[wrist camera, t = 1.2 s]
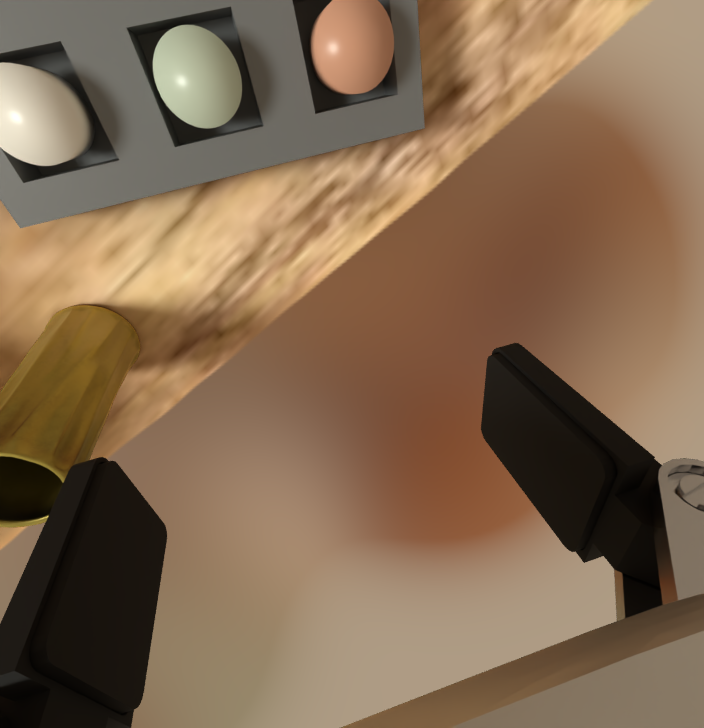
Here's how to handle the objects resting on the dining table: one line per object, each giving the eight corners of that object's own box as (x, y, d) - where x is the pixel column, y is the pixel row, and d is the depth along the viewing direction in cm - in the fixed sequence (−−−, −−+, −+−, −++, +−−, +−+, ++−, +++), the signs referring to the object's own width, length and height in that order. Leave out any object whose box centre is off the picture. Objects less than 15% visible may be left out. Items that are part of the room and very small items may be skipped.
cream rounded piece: (-21, 76, 18) (-53, 73, 16) (64, 59, 19) (43, 53, 17) (35, 167, 21) (13, 174, 19) (110, 150, 21) (96, 155, 19)
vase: (110, 292, 27) (22, 426, 16) (156, 358, 31) (111, 505, 20) (26, 320, 27) (-126, 478, 16) (82, 383, 31) (-7, 549, 19)
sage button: (146, 42, 19) (135, 34, 17) (225, 25, 19) (224, 16, 17) (182, 133, 21) (176, 136, 19) (251, 117, 22) (253, 118, 20)
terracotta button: (300, 10, 20) (308, -1, 18) (373, -5, 20) (389, -18, 18) (318, 101, 22) (327, 101, 20) (382, 86, 23) (398, 84, 21)
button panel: (-77, 25, 19) (-132, 11, 16) (388, -64, 21) (411, -90, 18) (45, 213, 24) (20, 228, 21) (404, 125, 26) (424, 128, 23)
